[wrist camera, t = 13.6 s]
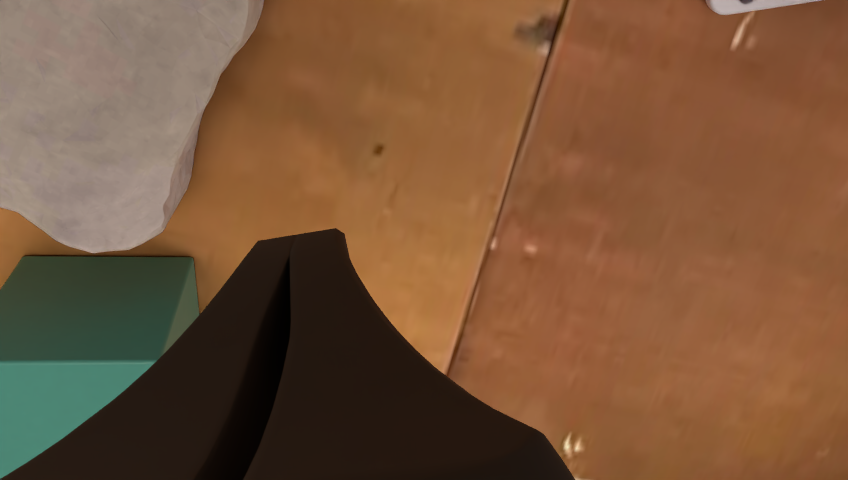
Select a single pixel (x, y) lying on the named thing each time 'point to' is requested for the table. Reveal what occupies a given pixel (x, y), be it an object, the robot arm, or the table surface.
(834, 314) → the table surface
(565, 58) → the table surface
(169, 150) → the stone block
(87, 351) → the teal block
